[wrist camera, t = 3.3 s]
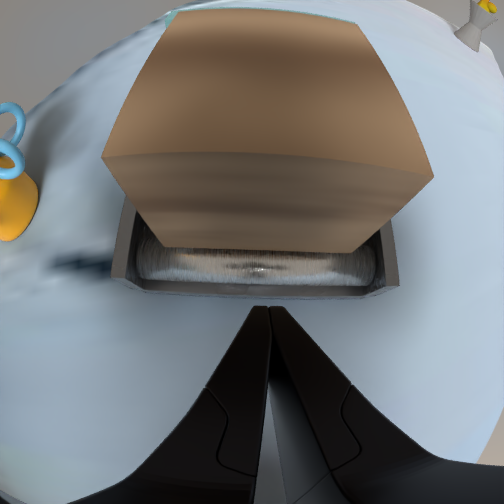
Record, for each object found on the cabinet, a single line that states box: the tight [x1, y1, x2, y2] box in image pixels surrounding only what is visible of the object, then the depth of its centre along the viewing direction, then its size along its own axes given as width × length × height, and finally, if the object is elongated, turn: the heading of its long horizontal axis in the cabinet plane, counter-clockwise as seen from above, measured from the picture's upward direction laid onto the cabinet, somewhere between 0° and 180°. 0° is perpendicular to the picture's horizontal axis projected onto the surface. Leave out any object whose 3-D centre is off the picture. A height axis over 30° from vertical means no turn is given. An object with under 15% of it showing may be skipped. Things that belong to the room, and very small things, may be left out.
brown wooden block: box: [101, 8, 434, 253], centre depth 11 cm, size 10×9×7 cm
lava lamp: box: [454, 0, 497, 52], centre depth 22 cm, size 9×9×35 cm
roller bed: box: [110, 195, 400, 299], centre depth 16 cm, size 17×14×4 cm
